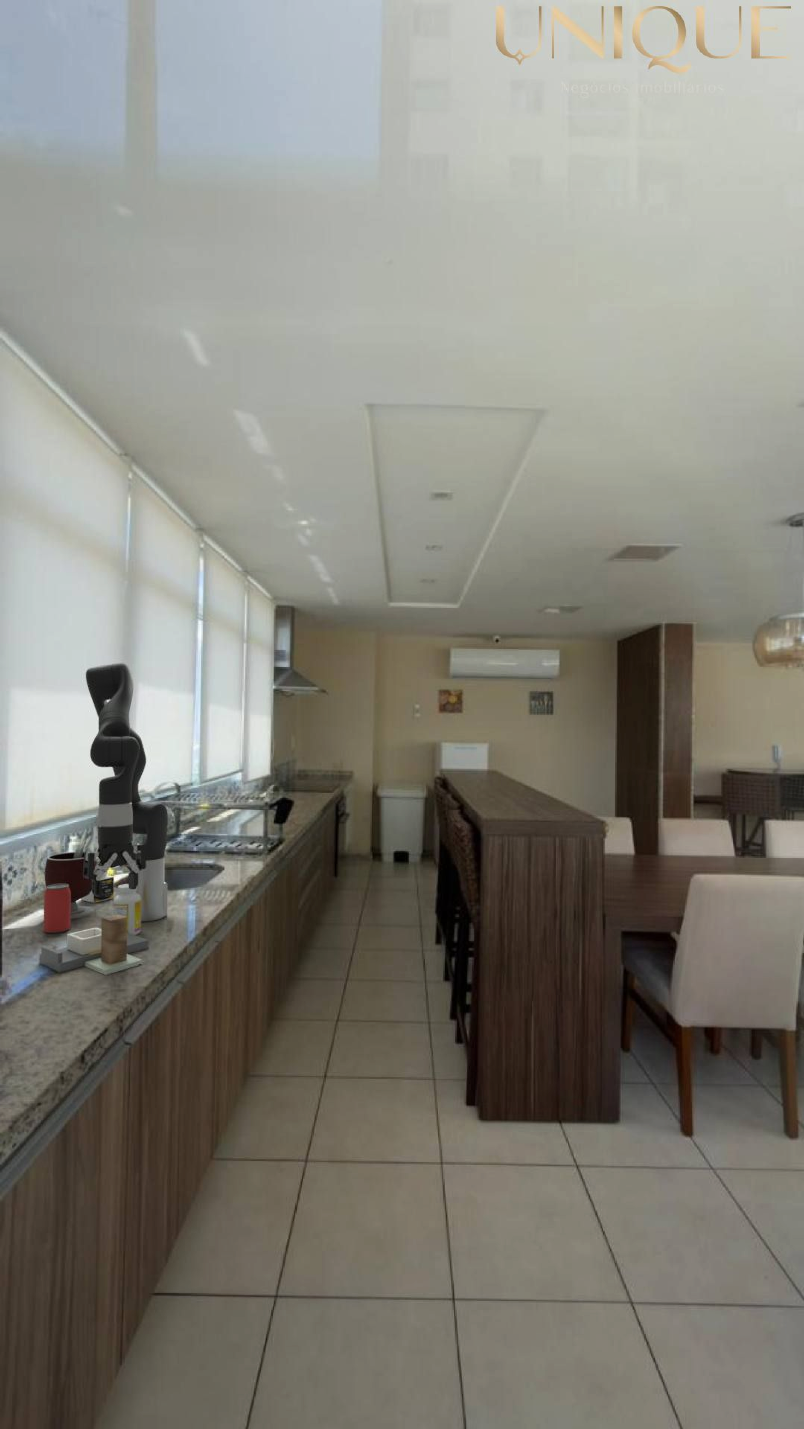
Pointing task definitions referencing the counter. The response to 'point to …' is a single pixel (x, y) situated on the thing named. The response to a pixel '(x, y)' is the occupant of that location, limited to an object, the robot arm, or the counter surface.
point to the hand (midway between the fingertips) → (115, 892)
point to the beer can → (57, 908)
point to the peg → (114, 939)
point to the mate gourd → (70, 877)
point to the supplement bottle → (129, 908)
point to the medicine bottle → (103, 889)
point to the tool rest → (108, 969)
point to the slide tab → (84, 941)
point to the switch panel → (71, 960)
